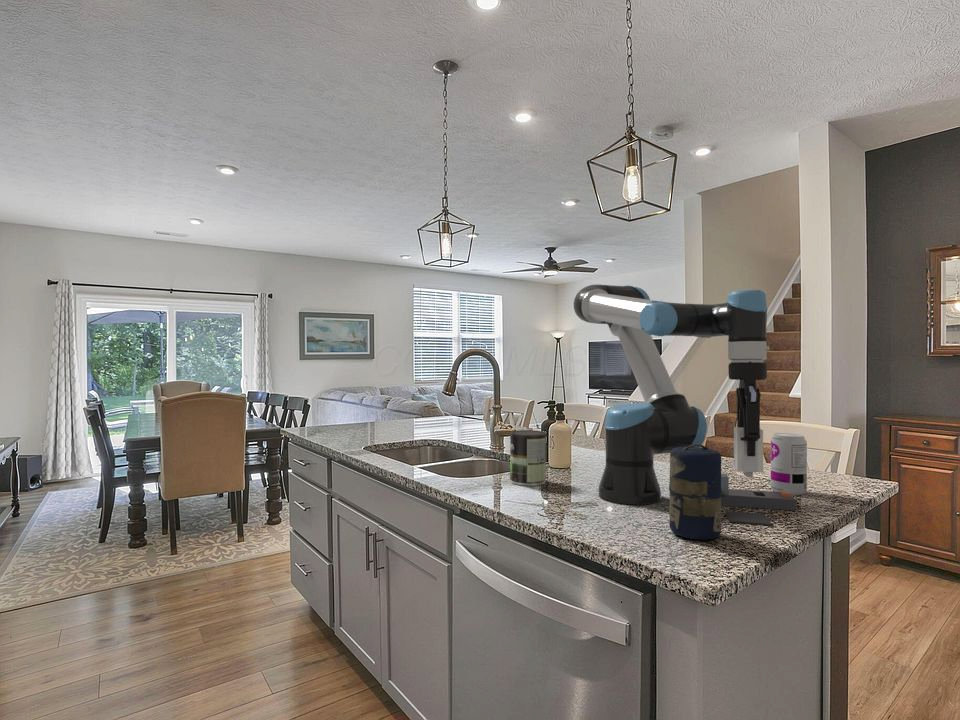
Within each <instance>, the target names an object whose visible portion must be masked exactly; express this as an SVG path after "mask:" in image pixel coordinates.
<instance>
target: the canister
mask: <svg viewBox="0 0 960 720" xmlns="http://www.w3.org/2000/svg"><path fill="white" fill-rule="evenodd" d="M694 446H700V447H694ZM721 474H722V454H721V453H720V451H718V450H716V449H714V448H709V447H707V446H705V445H703V444H702V445H699V444H694V445H690V446H688V447H676V448H673V449H672V450H671V452H670V453H669V483H668V490H669V503H668V504H669V528H670V530H671V532H673V533H674V534H676V535H677V536H679V537H683V538H687V539H692V540H701V541H705V540H713V539H717V538H718V537H719V536H721V533H722V532H721V531H722V523H721V522H722V505H721Z"/></svg>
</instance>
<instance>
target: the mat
mask: <svg viewBox="0 0 960 720" xmlns="http://www.w3.org/2000/svg"><path fill="white" fill-rule="evenodd" d="M724 514H725V516H726V518H727V519H728V521H729V523H731V524H742V525H743V524H744V525H754V526H755V525H756V526H757V525H758V526H766V527H767V526H769V527H772V526H773V523H772V522H771V521H770V519H769V518H768V517H767V515H765V514H764V513H759V512H748V511H747V512H744V511H735V510H734V511H733V510H724Z"/></svg>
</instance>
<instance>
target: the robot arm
mask: <svg viewBox="0 0 960 720" xmlns="http://www.w3.org/2000/svg"><path fill="white" fill-rule="evenodd" d="M573 310H574V313H575V315H576V316H577V317H578V318H579V319H580V320H581V321H583V322H586V323H591V324H601V325H603V324H604V325H607V326H608V329H609V331H610V333H611V334H612V335H613V336H615V337H617V338H618V339H619V342H620V344H621V346H622V348H623V351H624V354H625V356H626V358H627V361H628V365H629V366H630V369H631V371H632V373H633V375H634V378H635V381H636V384H637V386H638V388H639V391H640V393H641V395H642V398H643V400H644V402H634V403H624V404H623V403H622V404H618V405H613V406H612V407H610V408H608V409H607V411H606V413H605V414H606V415H605V423H604V428H605V467H604V469H603V473H602V476H601V479H600V482H599V485H598V496H599V498H601V499H602V500H606V501H609V502H613V503H617V504H625V505H648V504H649V505H650V504H655V503H659V502H660V501H661V500H662V492H661V491H662V490H661V487H660V483H659V481H658V477H657V475H656V472H655V468H654V467H655V465H654V459H655V457H654V455H658V454H659V455H660V454H670V452H671V450H672V449H673V448H676V447H688V446H690V445H694V444H699V445H703V444H704V441H705V440H706V438H707V437H706V436H707V433H708V423H707V419H706V416H705V414H704V412H703V411H702V410H701V409H700V408H697V407H695V406H690V405H689V402H688V400H687V398H686V396H685V395H684V394H683V393H679V392H677V391H676V388H675V386H674V383H673V381H672V379H671V377H670V375H669V372H668V370H667V368H666V366H665V363H664V361H663V359H662V357H661V354H660V352H659V350H658V348H657V346H656V343H655V341H654V339H653V336H657V337H664V336H665V337H667V336H669V337H673V336H674V337H679V336H680V337H696V338H707V339H708V338H713V337H725V336H728V340H727V341H728V342H727V357H728V360H729V361H730V362H729V364H728V379H729V380H734V381H735V380H737V381H739V382H738V383H739V384H738V387H736V390H735V394H736V427H744V437H741V438H740V439H741V441H743V471H750V472H753V473H759V472H758V439H760V429H761V425H760V423H761V420H760V419H761V417H760V414H761V412H760V411H761V409H760V407H761V406H760V403H761V396H762V395H761V392H760V389H759V388H757V381H765V380H767V378H768V364H767V363H766V362H764V361H766V360H767V358H768V357H767V355H768V354H767V351H769V350H770V346H769V345H767V318H768V307H767V296H766V293H765V292H764V291H763V290H760V289H759V290H758V289H741V290H734V291H731V292H730V293H728V297H727V301H726V302H725V303H716V304H708V303H707V304H706V303H705V304H704V303H683V302H682V303H681V302H680V303H678V302H666V301H661V300H660V301H659V300H653V299H651V298H650V295H649V293H647V292H646V290H644V289H642V288H641V287H638V286H634V285H610V284H608V285H607V284H590V285H587V286H584V287H583V288H581V289H580V290H579V291H578V292H577V294H576V295H575V297H574V300H573ZM694 447H700V446H694Z"/></svg>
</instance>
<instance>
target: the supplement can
mask: <svg viewBox="0 0 960 720" xmlns="http://www.w3.org/2000/svg"><path fill="white" fill-rule="evenodd" d="M807 442H808V441H807V440H806V438H805V436H804V435H803V434H797V433H785V432H784V433H781V432H776V433H773V434H772V436H771V438H770V489H771V490H772V491H773V490H774V491H773V492H780V491H786V492H789V493H790V494H791V496H802V495H801V494H803V495H804V494H805V493H807V491H808V483H807V482H808V448H807V447H808V443H807Z"/></svg>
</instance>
